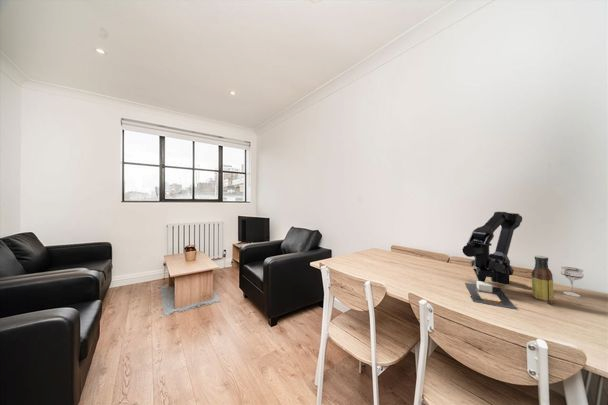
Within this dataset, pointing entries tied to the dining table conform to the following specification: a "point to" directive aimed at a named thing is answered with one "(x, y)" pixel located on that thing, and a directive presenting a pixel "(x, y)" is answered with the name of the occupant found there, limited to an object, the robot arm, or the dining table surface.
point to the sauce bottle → (542, 280)
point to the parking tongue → (473, 282)
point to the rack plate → (497, 291)
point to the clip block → (484, 286)
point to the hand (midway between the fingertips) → (481, 284)
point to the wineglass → (572, 277)
